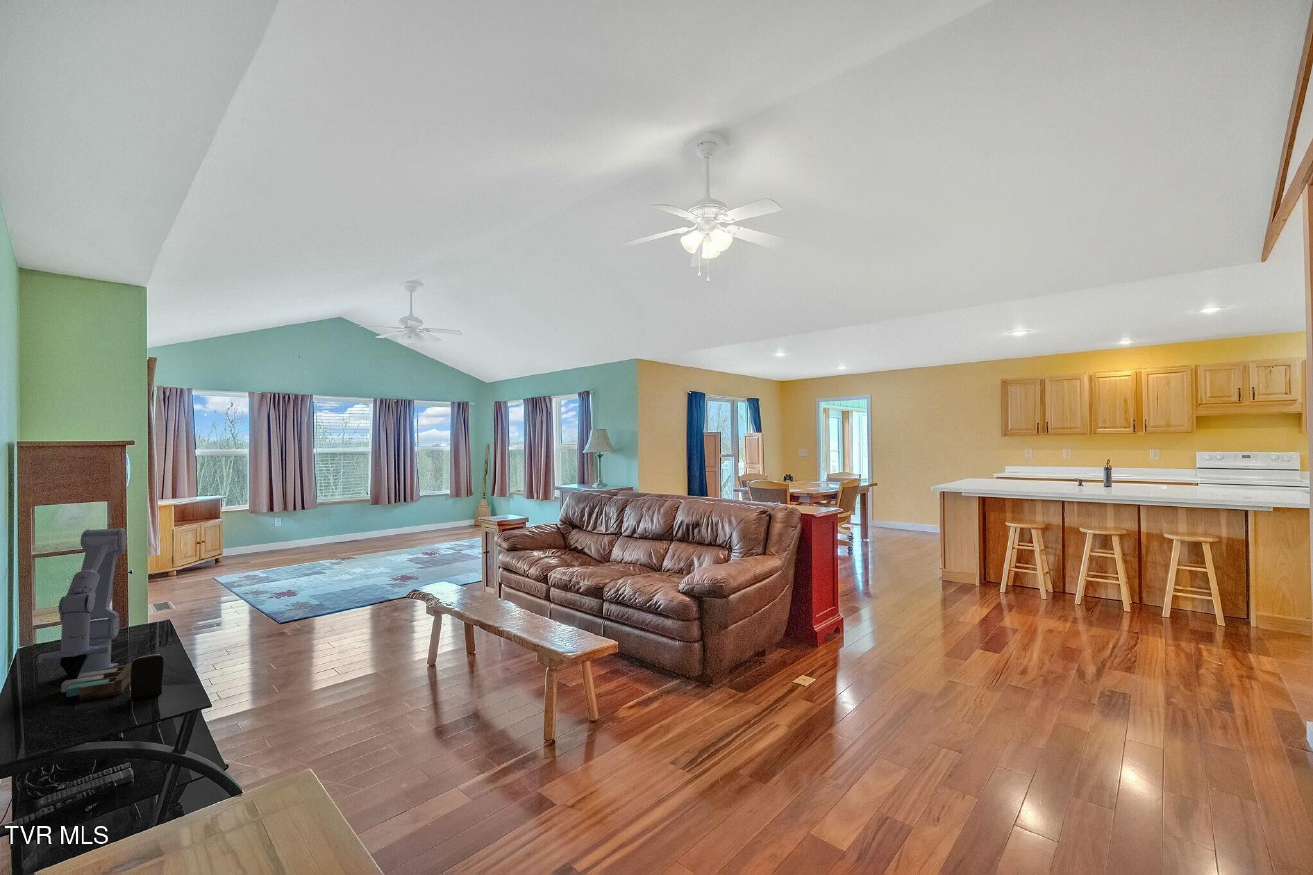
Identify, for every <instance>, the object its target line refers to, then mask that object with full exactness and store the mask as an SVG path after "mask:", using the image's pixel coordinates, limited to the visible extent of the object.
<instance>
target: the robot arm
mask: <svg viewBox="0 0 1313 875" xmlns="http://www.w3.org/2000/svg"><path fill="white" fill-rule="evenodd" d="M127 541H128V532H127V530H126V529H125V528H124V527H120V528H106V529H105V528H102V529H99V528H98V529H89V528H86V529H85V530H84V531H83V532H82V533H81V536H80V547H81V549H82V551H83V552H84V557H83V562H82V566H81V570H80V571H78V572H76V573H75V574H74V575H73V578H72V580H71V583H70V586H69V588H68V590H67V592H66V595H65V596H62V597H61V598H60V600H59V602H58V613H59V621H60V622H61V637H60V639H61V640H60V650H56V651H49V652H45V653H41V654H38V655H37V662H36V663H37V664H38V663H44V662H47V661H55V660H60V661H59V665H60V666H61V668H62V669H63V671H64V673H63V675H66V677H67V679H68V680H73V679H77V677H78V676H79V675H80V674H81V673H88V672H94V671H95V670H97V669H104V668H110V667H117V666H119V663H117V662H115V663H111V659H112V656H111V655H112V640H113V639H115V638H116V637H117V636H118V634H119V632H120V627H121V626H120V624H121V623H120V618H121V617H120V614H119V613H118V612H117V611H115V610H113V609H111V608H110V603H111V599H112V598H111V597H112V593H113V592H112V591H113V590H112V589H113V583H114V578H115V571H116V564H117V561H118V558H119V557H120V556H122V555H124V554H125V551H126V549H127Z"/></svg>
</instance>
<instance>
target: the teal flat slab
mask: <svg viewBox="0 0 1313 875" xmlns="http://www.w3.org/2000/svg"><path fill="white" fill-rule="evenodd" d="M108 682H110V679H106V680H99V681H93V682H86V683H80V684H73V685H70V686H69V687H68V688H67V692H66V697H67V698H69V697H75V696H80V687H82V686H89V685H95V684H101V683H108Z"/></svg>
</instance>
